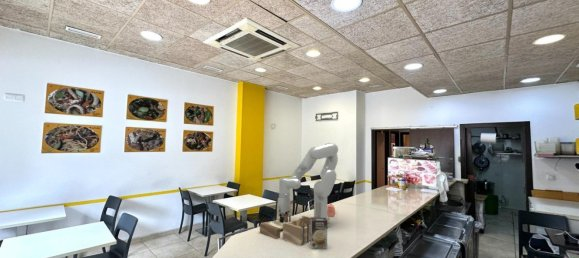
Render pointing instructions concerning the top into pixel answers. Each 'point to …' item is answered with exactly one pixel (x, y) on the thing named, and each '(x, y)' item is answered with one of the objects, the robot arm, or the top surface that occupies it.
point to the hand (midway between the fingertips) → (283, 221)
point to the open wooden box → (297, 230)
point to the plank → (270, 230)
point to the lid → (278, 223)
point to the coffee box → (318, 233)
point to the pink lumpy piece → (330, 210)
